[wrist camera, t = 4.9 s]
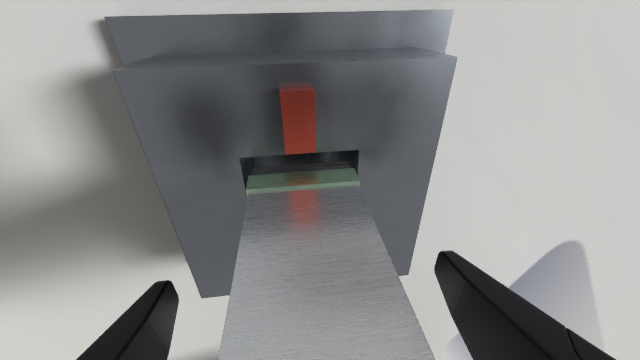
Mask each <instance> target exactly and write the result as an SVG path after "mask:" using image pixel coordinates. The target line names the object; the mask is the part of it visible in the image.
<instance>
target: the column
mask: <svg viewBox="0 0 640 360" xmlns="http://www.w3.org/2000/svg"><path fill="white" fill-rule="evenodd" d="M359 186H360V180H359V178H358V176H357V174H356V171H355V169H354V168H350V166H349V164H348V162H347V161H344V162H330V163H316V164H302V165H288V166H274V167H261V168H253V172H252V176H248V181H247V186H246V194H247V199H248V200H247V205H246V211H245V216H244V221H243V227H242V232H241V238H240V243H239V249H238V254H237V260H236V265H235V270H234V276H233V281H232V287H231V292H230V298H229V303H228V308H227V314H226V319H225V325H224V330H223V336H222V341H221V347H220V352H219V357H218V360H435V358H434V356H433V353H432V351H431V349H430V347H429V344H428V342H427V340H426V338H425V335H424V333H423V331H422V329H421V326H420V324H419V322H418V319H417V317H416V315H415V313H414V310H413V308H412V306H411V304H410V301H409V299H408V297H407V295H406V292H405V290H404V288H403V286H402V283H401V281H400V279H399V277H398V274H397V272H396V270H395V268H394V265H393V263H392V261H391V259H390V256H389V254H388V252H387V250H386V247H385V245H384V243H383V241H382V238H381V236H380V234H379V232H378V229H377V227H376V225H375V223H374V220H373V218H372V216H371V213H370V211H369V209H368V207H367V204H366V202H365V200H364V198H363V195H362V193H361V191H360V189H359Z"/></svg>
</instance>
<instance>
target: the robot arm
mask: <svg viewBox="0 0 640 360" xmlns="http://www.w3.org/2000/svg"><path fill="white" fill-rule="evenodd" d="M435 274H436V277H437V280H438V282H439V285H440V287H441V290H442V293H443V295H444V298H445V301H446V303H447V306H448V308H449V311H450V313H451V316H452V318H453V320H454V322H455V324H456V326H457V328H458V330H459V332H460V334H461V336H462V338H463V340H464V342H465V344H466V346H467V348H468V350H469V352H470V354H471V356H472V358H473V360H616V359H614V358H613V357H611V356H609V355H608V354H606V353H605V352H603V351H602V350H600V349H599V348H597V347H595V346H594V345H592V344H591V343H589V342H588V341H586V340H585V339H583V338H582V337H580V336H579V335H577V334H576V333H574V332H573V331H571V330H570V329H568V328H565V326H564V325H562V324H560V323H559V322H558V321H556V320H555V319H553V318H552V317H550V316H549V315H547V314H546V313H544V312H543V311H541V310H540V309H538V308H537V307H535V306H534V305H532V304H531V303H529V302H528V301H526V300H525V299H524V298H522V297H521V296H519V295H518V294H516V293H514V292H513V291H511V290H510V289H509V288H507V287H506V286H504V285H503V284H501V283H500V282H498V281H497V280H495V279H494V278H492V277H491V276H489V275H488V274H486V273H485V272H483V271H482V270H480V269H479V268H477V267H476V266H474V265H473V264H471V263H470V262H468V261H467V260H466V259H464V258H463V257H461V256H460V255H458V254H457V253H455V252H453V251H451V250H449V251H441V252H440V253H439V254H438V257H437V261H436V264H435ZM178 303H179V298H178V295H177V292H176V290H175V288H174V286H173V284H172V282H171V281H169V280H167V281H158V282H156V283H154V284H153V285H152V286H151V287H150V288H149V289H148V290H147V291H146V292H145V293H144V294H143V295H142V296H141V297H140V298H139V299H138V300H137V301H136V302H135V303H134V304H133V305H132V306H131V307H130V308H129V309H128V310H127V311H126V312H124V313H123V314H122V315H121V316H120V317H119V318H118V319H117V320H116V321H115V322H114V323H113V324H112V325H111V326H110V327H109V328H108V329H107V330H106V331H105V332H104V333H103V334H102V335H101V336H100V337H99V338H98V339H97V340H96V341H95V342H94V343H93V344H92V345H91V346H90V347H89V348H88V349H87V350H86V351H85V352H84V353H83V354H82V355H80V356H79V357H78V358H77V359H76V360H167V357H168V354H169V349H170V345H171V340H172V334H173V329H174V324H175V319H176V314H177V308H178Z"/></svg>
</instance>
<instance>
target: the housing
mask: <svg viewBox="0 0 640 360" xmlns="http://www.w3.org/2000/svg"><path fill="white" fill-rule="evenodd" d="M452 15H453V10H412V11H363V12H314V13H265V14H216V15H167V16H119V17H105V20H106V23H107V25H108V28H109V31H110V34H111V36H112V39H113V42H114V44H115V47H116V50H117V52H118V55H119V58H120V61H121V63H122V66H123V67H120V68H117V69H114V70H112V71H113V73H114V76H115V79H116V81H117V84H118V86H119V89H120V91H121V94H122V96H123V99H124V102H125V104H126V107H127V109H128V112H129V114H130V117H131V119H132V122H133V124H134V127H135V130H136V132H137V135H138V137H139V140H140V142H141V145H142V147H143V150H144V153H145V155H146V158H147V160H148V163H149V165H150V168H151V170H152V173H153V176H154V178H155V181H156V183H157V186H158V188H159V191H160V193H161V196H162V199H163V201H164V204H165V206H166V209H167V211H168V214H169V216H170V219H171V222H172V224H173V227H174V229H175V232H176V234H177V237H178V239H179V242H180V245H181V247H182V250H183V252H184V255H185V257H186V260H187V262H188V265H189V267H190V270H191V273H192V275H193V278H194V280H195V283H196V285H197V288H198V290H199V293H200V296H201V298H208V297H217V296H226V295H230V292H231V287H232V281H233V276H234V270H235V265H236V260H237V254H238V249H239V243H240V238H241V232H242V227H243V221H244V216H245V211H246V205H247V200H248V199H247V194H246V186H247V181H248V176H252V172H253V168H261V167H274V166H288V165H302V164H316V163H330V162H344V161H347V162H348V164H349V166H350V168H354V169H355V171H356V174H357V176H358V178H359V180H360V186H359V189H360V191H361V193H362V195H363V198H364V200H365V202H366V204H367V207H368V209H369V211H370V213H371V216H372V218H373V220H374V223H375V225H376V227H377V229H378V232H379V234H380V236H381V238H382V241H383V243H384V245H385V247H386V250H387V252H388V254H389V256H390V259H391V261H392V263H393V265H394V268H395V270H396V272H397V274H398V276H402V275H408V273H409V269H410V265H411V260H412V256H413V251H414V247H415V243H416V238H417V234H418V229H419V225H420V220H421V216H422V212H423V207H424V203H425V198H426V194H427V190H428V185H429V181H430V176H431V172H432V167H433V163H434V159H435V154H436V150H437V145H438V141H439V137H440V132H441V128H442V123H443V119H444V114H445V110H446V106H447V101H448V97H449V92H450V88H451V84H452V79H453V75H454V70H455V66H456V62H457V57H455V56H451V55H447V54H445V50H446V45H447V40H448V35H449V30H450V25H451V20H452Z"/></svg>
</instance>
